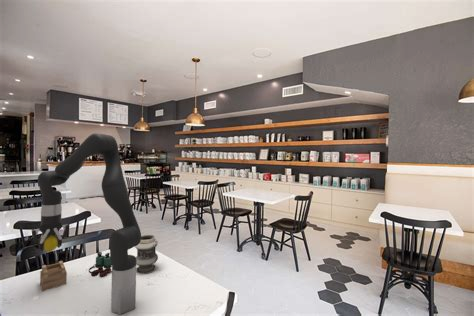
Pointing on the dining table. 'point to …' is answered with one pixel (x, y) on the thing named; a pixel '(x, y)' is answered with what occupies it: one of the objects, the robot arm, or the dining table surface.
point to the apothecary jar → (146, 254)
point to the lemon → (50, 243)
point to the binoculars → (101, 265)
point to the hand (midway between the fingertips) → (50, 248)
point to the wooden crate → (53, 276)
